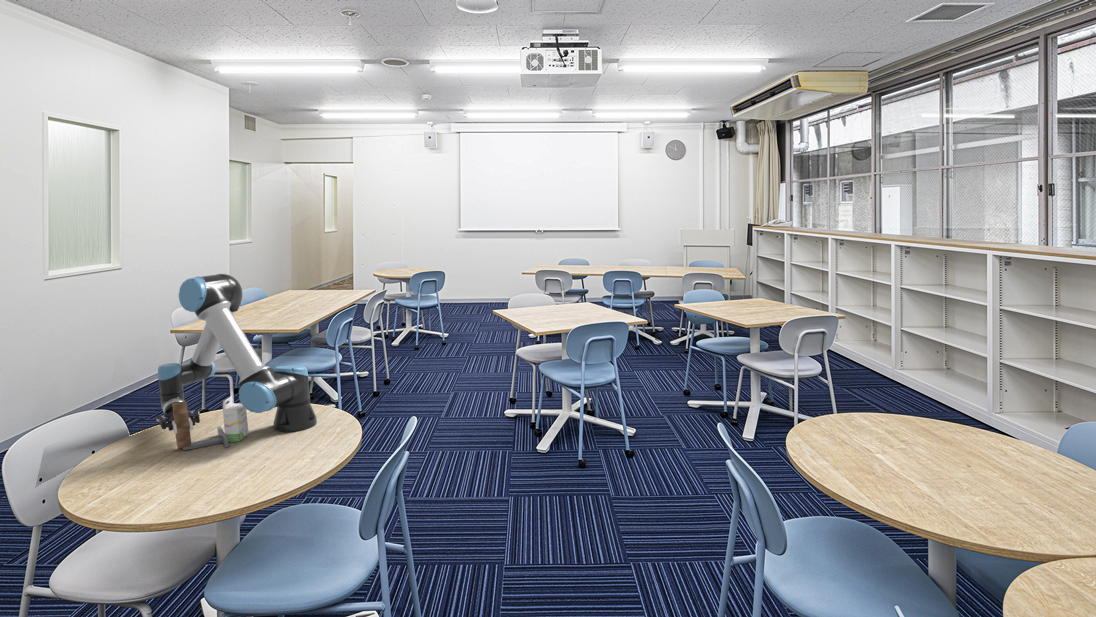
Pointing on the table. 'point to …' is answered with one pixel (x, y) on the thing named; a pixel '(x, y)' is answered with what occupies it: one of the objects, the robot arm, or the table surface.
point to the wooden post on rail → (184, 430)
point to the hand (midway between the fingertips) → (183, 428)
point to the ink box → (234, 420)
